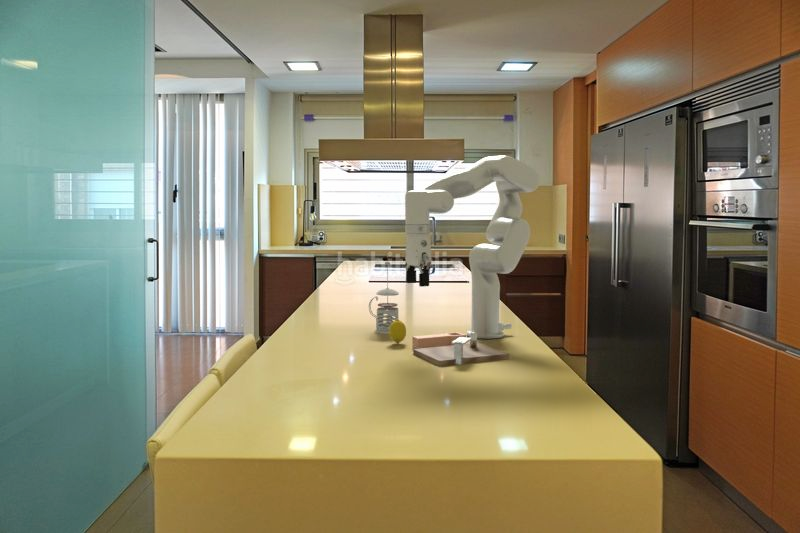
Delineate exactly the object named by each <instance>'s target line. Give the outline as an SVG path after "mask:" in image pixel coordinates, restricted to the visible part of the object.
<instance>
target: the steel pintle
mask: <svg viewBox="0 0 800 533" xmlns="http://www.w3.org/2000/svg"><path fill="white" fill-rule="evenodd" d="M469 338H471V340H470V342H469V344H470V347H471V348H477V343H478V342H477V341H478V338H477V333H476V332H470V337H469Z"/></svg>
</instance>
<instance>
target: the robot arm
mask: <svg viewBox="0 0 800 533" xmlns="http://www.w3.org/2000/svg"><path fill="white" fill-rule="evenodd" d="M540 182H541V177H540V174H539V172H538V171H537V169H536V168H534V167H533V166H532V165H529V164H527V163H525V162H523V161H521V160H519V159H517V158H515V157H512V156H510V155H493V156H492V155H491V156H486V157H483V158H482V159H480V160H478V161H476V162H474V163H473V164H472V165H470V166H468V167H466V168H465V169H463V170H461V171H459V172H457V173H454V174H451V175H450V176H447V177H444V178H442V179H440V180H439V179H438V180H436V181H435V182H432V183H431V184H428V185H426V186H425V187H424V188H422V189H420V190H408V191H406V192H405V195H404V200H405V201H404V205H405V206H404V207H405V208H404V211H405V212H404V215H405V218H404V219H405V220H404V221H405V228H404V230H405V231H404V233H405V236H406V242H405V256H404V259H405V266H406V267H405V270H406V283H407V284H416V283H417V269H416V268H418V270H419V274H418V281H419V282H418V285H419V287H429V286H430V272H431V271H430V270H431V266H432V248H431V247H432V246H431V238H430V214H434V215H435V214H436V215H438V214H439V215H441V214H442V215H443V214H446V213H449V212H450V211H451V210H452V209H453V208H454V204H455V200H456V199H462V198H466V197H467V198H468V197H469V196H472V195H474V194H476V193H478V192H479V191H481V190H482V189H484V188H486V187H488V186H489V185H490V184H492V183H495V186H496V189H497V192H498V197H499V200H498V202H499V203H498V206H497V207H496V210H495V211H494V212H495V213H494V214H493V216H492V218H491V220H490V222H489V223H488V226H487V228H486V232H485V236H486V240H487V241H488V242H490V243H480V244H477V245H475V246H473V248H472V249H471V250H470V251H469V255H468V262H469V267H470V274H471V327H470V330H467V331H466V337H467V336H468V338H470V332H476V333H477V339H483V340H484V339H485V340H487V339H489V340H490V339H491V340H492V339H499V338H503V337H504V335H505V333H504V332H503V331H505V330H511V329H512V323H511V322H510V323H503V322H500V303H501V302H500V300H501V299H500V295H501V294H500V292H501V284H500V280H499V276H498V274H503V275H505V274H510V273H511V272H513V271H514V270H515V268H516V267H517V265H518V264H519V262H520V260H521V258H522V256H523V253H524V252H525V249H526V248H527V246H528V243H529V241H530V237H531V227H530V224H529V222H527V221H526V220H525V219H523V218H521V216H522V213H523V203H522V201H521V197H520V195H519V193H520V194H521V193H532V192H534V191H536V190H537V189H538V187H539V186H540Z"/></svg>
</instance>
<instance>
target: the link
mask: <svg viewBox="0 0 800 533" xmlns="http://www.w3.org/2000/svg"><path fill="white" fill-rule="evenodd" d="M459 337H467V334H464V333H461V332H459V331H455V332H445V333H444V332H443V333H438V334H437V333H436V334H425V335H414V336H412V343H411V344H412V348H413V349H421V348H431V347H442V346H452V345H454V344H452V342H453V341H454V340H456V339H457V338H459Z"/></svg>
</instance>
